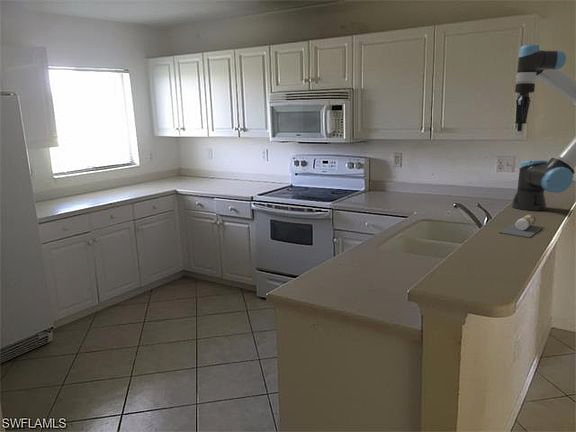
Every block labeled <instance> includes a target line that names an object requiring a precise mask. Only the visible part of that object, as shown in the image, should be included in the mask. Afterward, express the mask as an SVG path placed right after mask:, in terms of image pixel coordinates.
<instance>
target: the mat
mask: <svg viewBox="0 0 576 432" xmlns="http://www.w3.org/2000/svg"><path fill="white" fill-rule="evenodd" d="M543 228H544V227H543V226H537V225H533V224H532V225H531V226H530V227H528V228H527V229H526V230H523V231H521V230H518V229H517V228H516V222H514V223H511V224H510V225H508V226H507V227H504V228H503V229H502V230H500V231H499V232H498V233H499V234H503V235H509V236H514V237H521V238H527V239H530V238H532V237H533V236H534V235H536V234H538V232H540V231H541V230H543Z"/></svg>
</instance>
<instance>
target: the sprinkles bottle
mask: <svg viewBox="0 0 576 432" xmlns="http://www.w3.org/2000/svg"><path fill="white" fill-rule="evenodd" d="M536 221H537V220H536V217H535V215H534V214H530V213H529V214H526V215H525V216H524V217H521V218H519V219H518V220H516V222H515V223H516V228H517V229H518V230H521V231H523V230H526V229H527V228H528V227H530V226H531V225H532V226H533V225H534V224H535V223H536Z"/></svg>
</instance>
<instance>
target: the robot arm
mask: <svg viewBox="0 0 576 432" xmlns="http://www.w3.org/2000/svg"><path fill="white" fill-rule="evenodd" d="M517 58H518V59H517V69H516V75H515V77H514V78H516V80H515V82H516V84H515V88H514V92H515V93H517V94H518V93H519V94H518V97H517V99H516V100H515V103H516V107H515V108H516V110H515V121H514V124H516V129H515V130H516V131H515V137H514V138H515V139H516V140H518V139H519V140H522V139H524V133H525V125H526V124H528V114H529V108H530V104H531V97H530V93H531V94H532V93H534V92H535V88H536V84H535V82H537V81H536V80H537V79H539V80H540V81H542V82H543V83H545V84H546V85H548V86H550V87H551V88H552V89H554V90H556V91H557V92H558V93H561V94H562V95H563V96H565V97H566V98H568V99H569V100H570V101H572V104H573V105H574V106H576V80H575V79H574V78H572V77H571V76H569V75H568V74H566V73H565V72H563V71H562V70H561V69H562V68H563V67H564V66H565V64H566V60H567V55H566V53H565V52H564V51H562V50H542V49H541V50H540V45H538V44H525V45H522V46H521V47H520V48H519V53H518V57H517ZM575 168H576V135H575V136H573V138H572V140H571V141H569V143H568V144H567V146H565V147H564V149H563V150H562V151H561V152H559V154H558V155H557V156H553V157H551V158H550V159H549V160H522V161H521V162H520V165H519V171H518V183H517V190H516V193H515V195H514V197H513V198H512V201H511V207H512V208H514V209H517V210H525V211H535V212H536V211H538V212H539V211H540V212H541V211H545V210H546V209H547V201H546V197H545V191H546V192H548V193H555V194H557V193H563V192H565V191H567V190H568V189H569V188H570V187H571V186H572V184H573V183H574V180H573V179H574V175H575V173H576V169H575Z"/></svg>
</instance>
